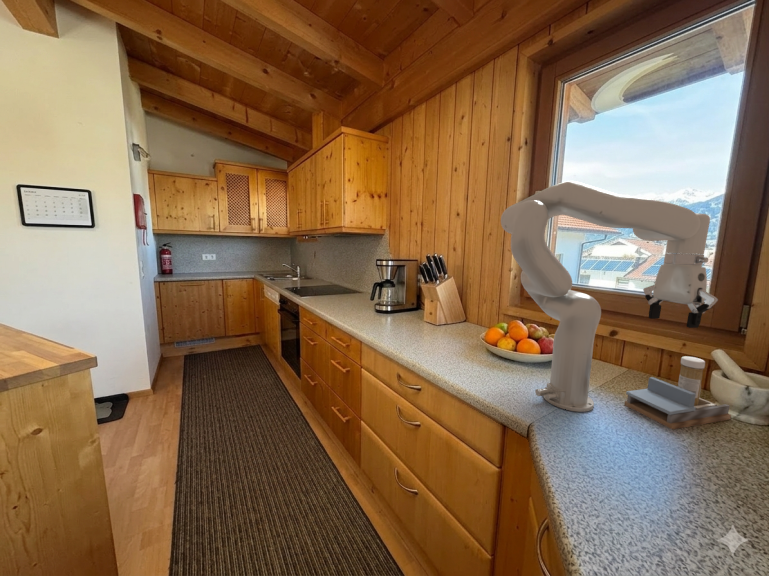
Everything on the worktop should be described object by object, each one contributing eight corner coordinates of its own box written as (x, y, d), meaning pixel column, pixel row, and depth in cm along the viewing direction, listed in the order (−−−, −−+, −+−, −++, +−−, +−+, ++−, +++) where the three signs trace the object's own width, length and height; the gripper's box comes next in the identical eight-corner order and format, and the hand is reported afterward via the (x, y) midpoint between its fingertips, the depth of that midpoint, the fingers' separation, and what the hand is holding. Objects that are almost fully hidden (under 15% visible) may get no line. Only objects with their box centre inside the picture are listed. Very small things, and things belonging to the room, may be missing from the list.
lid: (669, 414, 76) (672, 398, 75) (626, 394, 86) (627, 379, 86) (695, 410, 78) (697, 394, 77) (649, 390, 88) (651, 376, 88)
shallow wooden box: (672, 429, 76) (674, 416, 75) (624, 404, 87) (625, 393, 87) (730, 419, 81) (732, 406, 80) (677, 397, 92) (679, 386, 92)
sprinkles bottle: (700, 407, 84) (707, 359, 82) (695, 411, 82) (702, 363, 80) (677, 400, 88) (684, 354, 86) (672, 404, 85) (679, 357, 84)
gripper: (734, 263, 76) (721, 331, 78) (659, 259, 93) (650, 315, 95) (711, 262, 74) (698, 331, 77) (639, 258, 91) (630, 315, 94)
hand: (672, 322), depth 86 cm, fingers open, 9 cm apart
